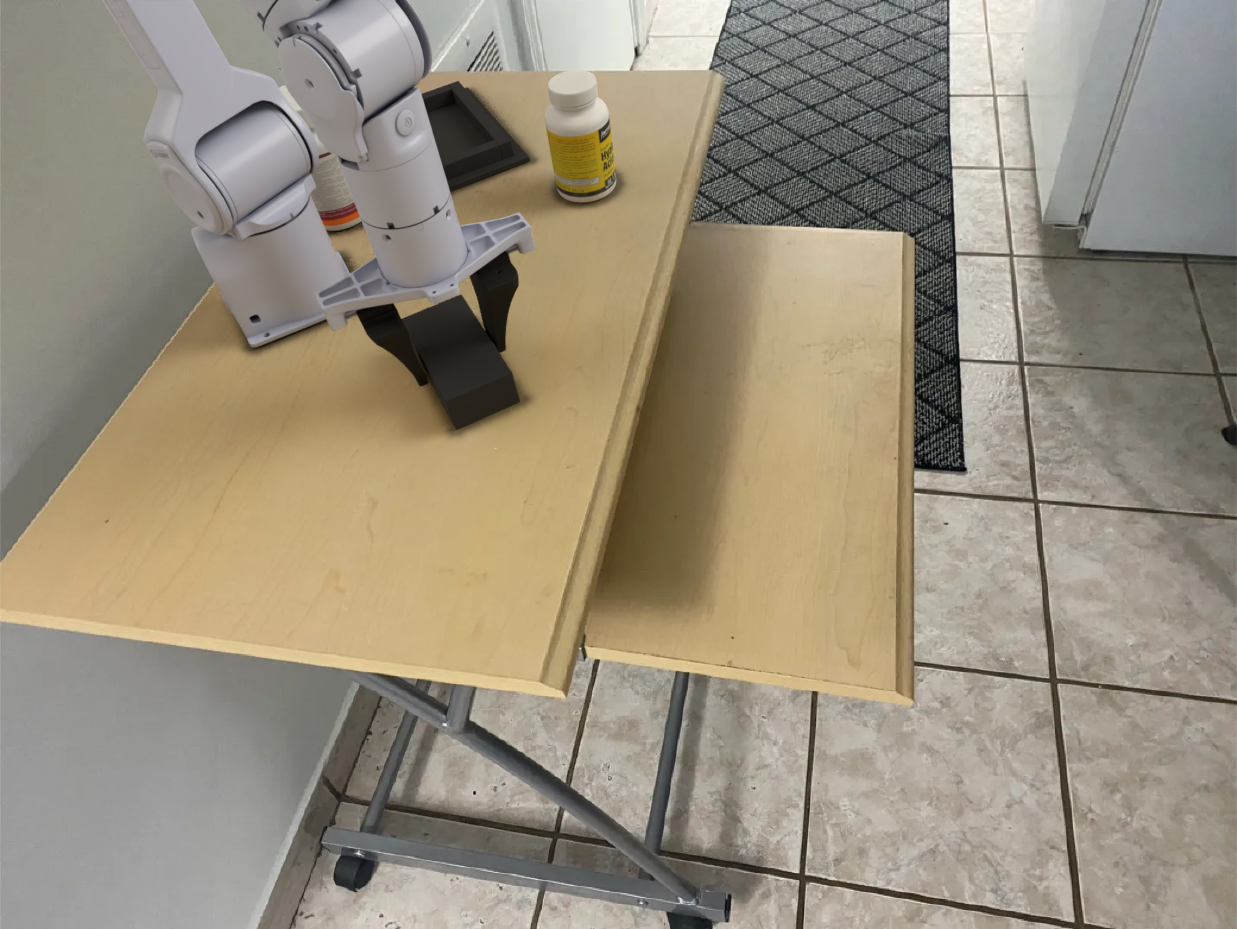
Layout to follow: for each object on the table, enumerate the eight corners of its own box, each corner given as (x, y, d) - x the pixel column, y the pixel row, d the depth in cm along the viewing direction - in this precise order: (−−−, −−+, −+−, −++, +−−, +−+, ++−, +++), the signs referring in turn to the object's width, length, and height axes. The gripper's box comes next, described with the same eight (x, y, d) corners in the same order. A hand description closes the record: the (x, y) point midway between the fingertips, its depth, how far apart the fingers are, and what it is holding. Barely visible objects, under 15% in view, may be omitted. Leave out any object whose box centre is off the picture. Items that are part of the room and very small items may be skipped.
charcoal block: (520, 401, 65) (512, 372, 62) (456, 430, 64) (445, 401, 61) (470, 323, 71) (461, 293, 68) (410, 348, 70) (399, 318, 67)
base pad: (530, 161, 84) (526, 141, 83) (420, 203, 82) (413, 184, 80) (468, 91, 94) (464, 72, 92) (368, 127, 92) (362, 108, 90)
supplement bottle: (617, 202, 79) (603, 95, 71) (555, 207, 79) (535, 102, 72) (618, 166, 82) (605, 61, 75) (559, 171, 83) (540, 68, 75)
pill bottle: (337, 187, 85) (290, 71, 76) (389, 199, 83) (347, 81, 74) (295, 226, 82) (241, 109, 73) (348, 239, 80) (299, 120, 71)
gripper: (307, 280, 52) (381, 436, 62) (537, 190, 55) (571, 353, 65) (279, 219, 56) (353, 374, 66) (493, 139, 59) (532, 299, 69)
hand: (459, 360), depth 66 cm, fingers open, 5 cm apart
